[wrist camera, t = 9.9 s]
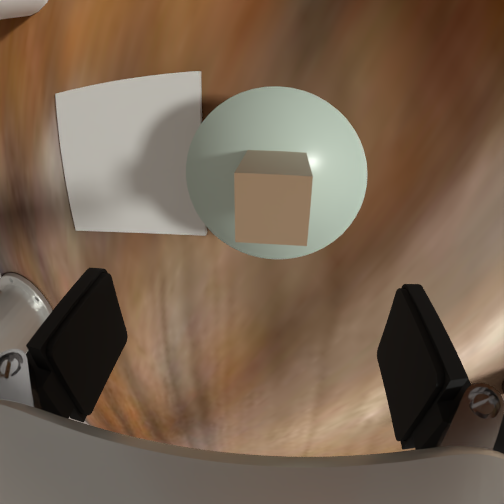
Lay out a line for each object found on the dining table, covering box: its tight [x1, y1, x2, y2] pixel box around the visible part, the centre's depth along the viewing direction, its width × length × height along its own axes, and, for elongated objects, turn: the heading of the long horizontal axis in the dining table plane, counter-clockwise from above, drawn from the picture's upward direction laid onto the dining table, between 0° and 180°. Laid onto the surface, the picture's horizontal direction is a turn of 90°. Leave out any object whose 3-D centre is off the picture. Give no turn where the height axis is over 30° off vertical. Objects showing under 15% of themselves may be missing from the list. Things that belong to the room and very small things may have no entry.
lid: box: [186, 86, 367, 259], centre depth 20 cm, size 13×13×7 cm
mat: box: [55, 71, 207, 236], centre depth 29 cm, size 16×16×1 cm
